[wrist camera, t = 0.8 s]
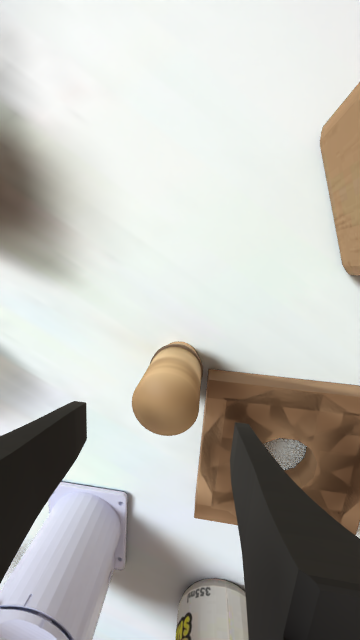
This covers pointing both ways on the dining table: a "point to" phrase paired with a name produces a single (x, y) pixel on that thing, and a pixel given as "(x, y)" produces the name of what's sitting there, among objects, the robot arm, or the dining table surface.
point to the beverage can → (212, 612)
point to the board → (283, 422)
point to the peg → (169, 390)
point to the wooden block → (344, 176)
